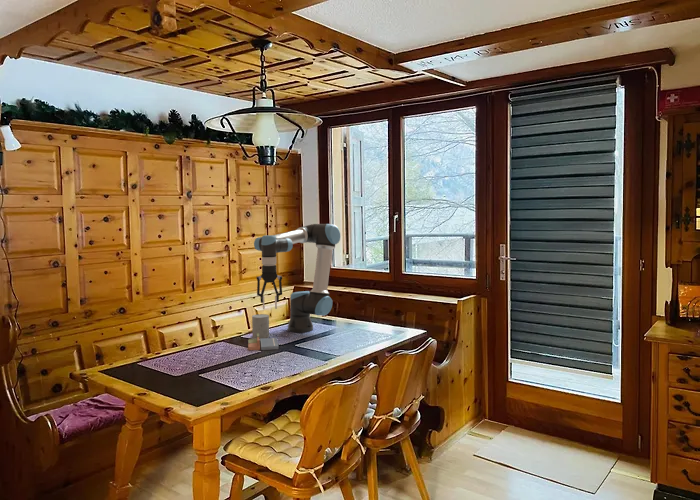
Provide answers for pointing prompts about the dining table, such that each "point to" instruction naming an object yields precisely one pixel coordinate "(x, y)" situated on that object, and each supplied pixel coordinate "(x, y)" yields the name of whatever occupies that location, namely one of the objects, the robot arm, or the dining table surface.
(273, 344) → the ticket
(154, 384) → the dining table surface
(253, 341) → the olive stub
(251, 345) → the terracotta stub
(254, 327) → the grey cylinder
